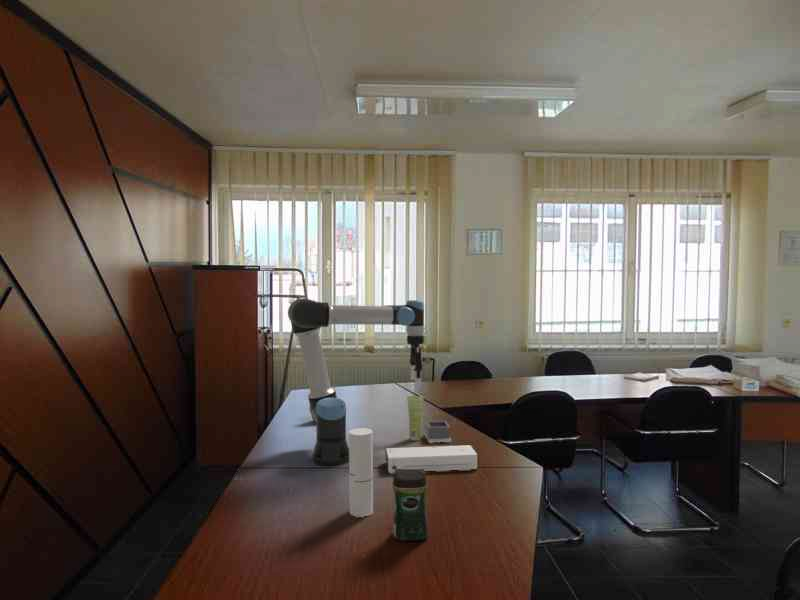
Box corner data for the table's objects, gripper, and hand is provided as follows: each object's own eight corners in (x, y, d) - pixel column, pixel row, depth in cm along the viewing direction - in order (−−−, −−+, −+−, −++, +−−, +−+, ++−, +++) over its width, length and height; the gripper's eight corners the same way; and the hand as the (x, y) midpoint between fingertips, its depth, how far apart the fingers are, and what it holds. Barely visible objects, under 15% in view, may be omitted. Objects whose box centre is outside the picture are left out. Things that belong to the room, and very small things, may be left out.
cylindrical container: (360, 504, 160) (360, 426, 160) (377, 511, 156) (377, 431, 155) (344, 512, 155) (344, 432, 154) (361, 519, 150) (361, 436, 149)
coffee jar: (426, 528, 145) (426, 464, 144) (428, 542, 137) (428, 475, 136) (393, 528, 145) (392, 464, 144) (392, 542, 137) (392, 475, 136)
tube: (415, 436, 231) (415, 394, 230) (424, 438, 228) (423, 395, 227) (407, 439, 227) (407, 396, 226) (415, 441, 223) (415, 398, 223)
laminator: (470, 460, 201) (470, 444, 201) (478, 471, 189) (478, 455, 189) (385, 463, 198) (385, 448, 198) (388, 475, 186) (387, 459, 185)
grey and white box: (451, 442, 223) (451, 427, 223) (428, 443, 222) (428, 428, 221) (445, 434, 235) (445, 420, 234) (424, 434, 234) (424, 420, 233)
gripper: (428, 337, 213) (429, 387, 214) (419, 331, 238) (419, 376, 239) (410, 338, 213) (411, 388, 213) (403, 332, 237) (404, 377, 238)
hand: (415, 382), depth 226 cm, fingers open, 13 cm apart
